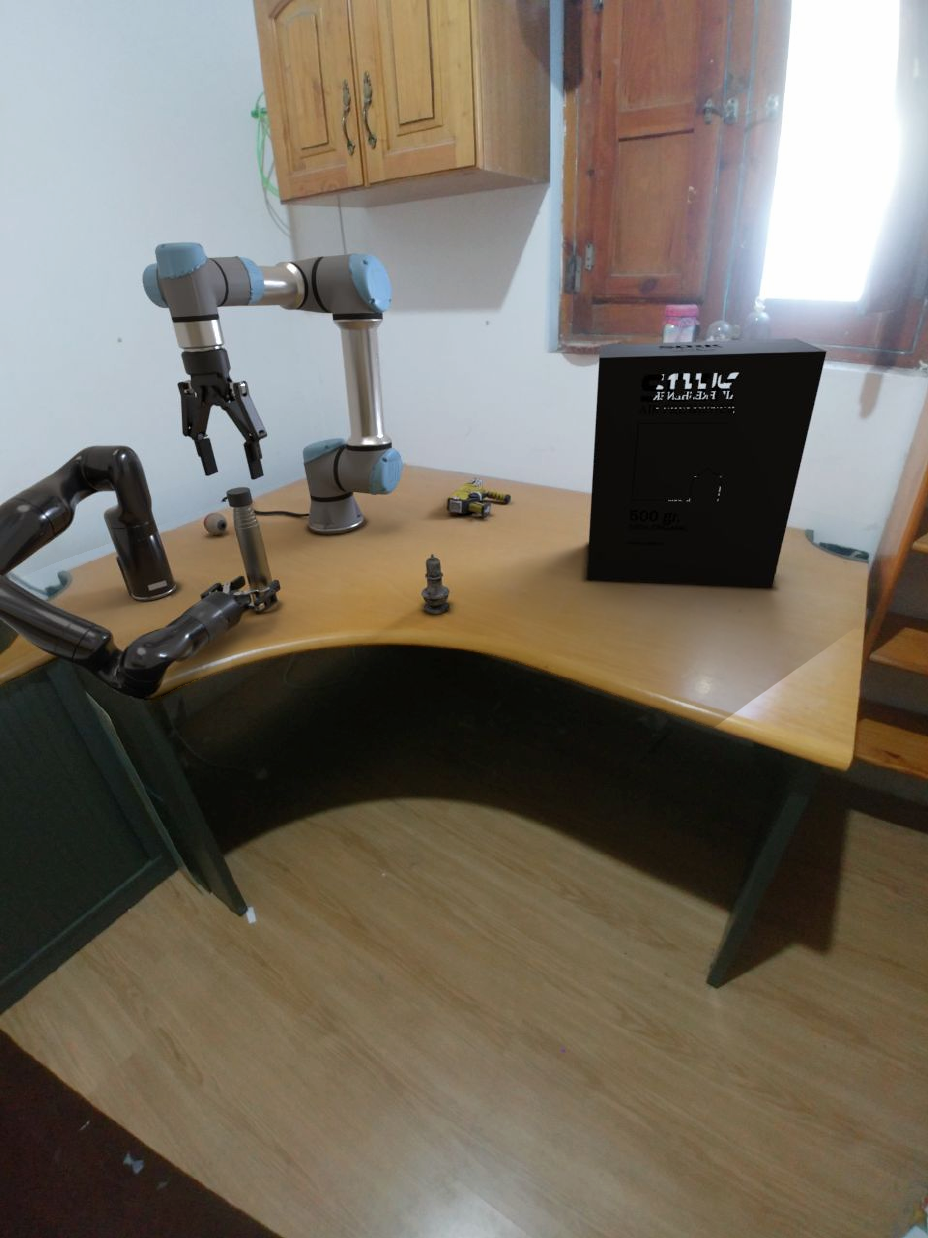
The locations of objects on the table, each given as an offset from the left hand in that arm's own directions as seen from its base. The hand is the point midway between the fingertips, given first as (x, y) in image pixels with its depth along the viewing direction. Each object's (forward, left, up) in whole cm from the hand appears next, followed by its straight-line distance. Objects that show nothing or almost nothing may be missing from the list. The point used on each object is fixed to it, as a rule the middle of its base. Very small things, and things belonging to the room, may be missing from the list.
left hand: (260, 581), depth 126 cm
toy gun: (+26, +71, -6) cm, 76 cm away
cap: (0, 0, +17) cm, 17 cm away
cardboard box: (+81, +41, -6) cm, 91 cm away
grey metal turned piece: (+36, +9, -6) cm, 37 cm away
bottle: (0, 0, -6) cm, 6 cm away
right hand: (0, 0, +23) cm, 23 cm away
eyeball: (-39, +34, -6) cm, 52 cm away
